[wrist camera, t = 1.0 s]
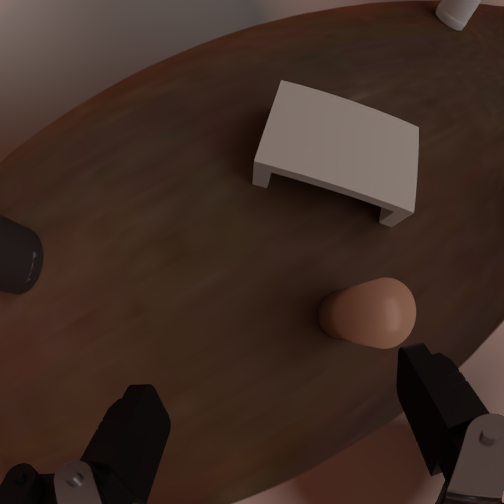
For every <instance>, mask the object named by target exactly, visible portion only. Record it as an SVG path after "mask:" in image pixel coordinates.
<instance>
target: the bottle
mask: <svg viewBox="0 0 504 504" xmlns="http://www.w3.org/2000/svg"><path fill="white" fill-rule="evenodd" d="M480 1H481V0H442V1H441V3H440V4H439V5H438V7H437V10H436V15H437V17H438V18H439V19H440V20H441V21H442V22H443V23H444V24H446V25H447V26H449V27H450V28H452V29H454V30H458V31H461V30H462V29H463V27H464V26H465V25H466V24H467V21H468V20H469V18H470V17H471V15H472V14H473V12H474V11H475V9H476V8H477V6H478V5H479V3H480Z"/></svg>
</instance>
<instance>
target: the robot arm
mask: <svg viewBox="0 0 504 504" xmlns="http://www.w3.org/2000/svg"><path fill="white" fill-rule="evenodd" d="M42 259H43V253H42V246H41V242H40V240H39V238H38V236H37V235H36V233H35V232H33V231H32V230H31V229H29V228H26V227H24V226H22V225H20V224H18V223H16V222H14V221H12V220H10V219H8V218H6V217H4V216H2V215H0V291H2V292H8V293H14V294H21V293H24V292H26V291H28V290H29V289H30V288H31V287H32V286H33V285H34V284H35V282H36V280H37V278H38V276H39V274H40V271H41V267H42ZM396 385H397V394H398V398H399V401H400V403H401V406H402V408H403V410H404V412H405V415H406V417H407V419H408V422H409V424H410V426H411V429H412V431H413V433H414V435H415V437H416V440H417V443H418V445H419V448H420V450H421V453H422V455H423V458H424V460H425V462H426V465H427V468H428V470H429V473H430V475H431V476H434V475H436V474H439V473H441V472H442V473H443V475H444V478H445V482H444V484H443V487H442V490H441V492H440V494H439V496H438V499H437V501H436V503H435V504H504V503H502V495H503V491H504V416H502V415H499V414H490V413H489V412H488V410H487V409H486V407H485V406H484V404H483V403H482V402H481V400H480V399H479V397H478V396H477V394H476V393H475V392H474V390H473V389H472V387H471V386H470V385H469V383H468V382H467V381H466V380H465V378H464V376H463V375H462V373H460V372H459V369H458V368H457V367H456V365H455V364H454V363H453V361H452V360H451V359H449V358H448V357H446V356H444V355H442V354H441V353H436V354H433V355H432V354H431V353H430V351H429V350H428V348H427V347H426V346H425V344H424V343H423V342H419V343H415V344H412V345H408V346H405V347H401V348H400V349H399V351H398V368H397V384H396ZM170 427H171V424H170V418H169V415H168V413H167V411H166V409H165V408H164V406H163V404H162V402H161V400H160V398H159V396H158V394H157V392H156V390H155V388H154V387H153V386H152V385H151V384H144V385H130V386H129V387H128V388H127V390H126V392H125V393H124V395H123V397H122V399H118V400H117V401H116V402H115V403H114V404H113V405H112V406H111V407H110V408H109V409H108V410H107V412H106V414H105V416H104V418H103V421H101V423H100V425H99V426H98V430H96V432H95V434H94V435H93V437H92V439H91V441H90V443H89V445H88V446H87V448H86V450H85V452H84V454H83V456H82V457H81V459H80V461H70V462H68V463H66V464H64V465H62V466H61V467H60V468H59V469H58V470H57V472H56V474H39V473H38V472H37V471H36V470H35V469H34V468H33V467H32V466H31V465H29V464H26V463H22V464H18V465H16V466H14V467H13V468H11V469H10V470H9V472H8V473H7V475H6V476H5V478H4V480H3V482H2V483H1V485H0V504H133V503H137V504H146V503H147V500H148V497H149V494H150V491H151V488H152V485H153V482H154V478H155V475H156V472H157V469H158V466H159V463H160V460H161V457H162V454H163V451H164V448H165V445H166V442H167V439H168V436H169V433H170Z"/></svg>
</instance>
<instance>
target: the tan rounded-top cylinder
mask: <svg viewBox="0 0 504 504" xmlns="http://www.w3.org/2000/svg"><path fill="white" fill-rule="evenodd" d="M318 319H319V323H320V326H321V328H322V329H323V331H324V332H325V333H326V334H327V335H329V336H330V337H332V338H335V339H339V340H344V341H348V342H352V343H357V344H361V345H366V346H371V347H375V348H381V349H387V348H392V347H395V346H397V345H399V344H400V343H402V342H403V341H404V340H405V339H406V338H407V337H408V335H409V334H410V332H411V331H412V329H413V326H414V323H415V319H416V305H415V301H414V298H413V296H412V294H411V292H410V290H409V289H408V288H407V287H406V286H405V285H404V284H403V283H402V282H400V281H398V280H396V279H392V278H380V279H376V280H373V281H369V282H366V283H363V284H359V285H356V286H352V287H349V288H346V289H342V290H339V291H335V292H333V293H331V294H329V295H328V296H327V297H326V298H325V299H324V300H323V301H322V303H321V305H320V308H319V312H318Z"/></svg>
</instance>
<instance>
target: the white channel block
mask: <svg viewBox="0 0 504 504" xmlns="http://www.w3.org/2000/svg"><path fill="white" fill-rule="evenodd" d="M418 144H419V127H417V126H415V125H412V124H410V123H408V122H405V121H403V120H401V119H398V118H396V117H393V116H391V115H388V114H386V113H383V112H381V111H378V110H375V109H373V108H370V107H367V106H365V105H362V104H359V103H356V102H353V101H350V100H348V99H345V98H342V97H338V96H335V95H332V94H329V93H326V92H323V91H319V90H316V89H312V88H309V87H305V86H302V85H298V84H294V83H290V82H287V81H283V80H281V83H280V86H279V89H278V91H277V94H276V97H275V100H274V103H273V106H272V109H271V112H270V115H269V118H268V121H267V124H266V127H265V129H264V132H263V135H262V138H261V141H260V144H259V147H258V150H257V153H256V156H255V159H254V168H253V182H252V184H253V185H257V186H260V187H264V188H267V186H268V183H269V180H270V176H271V173H275V174H279V175H282V176H286V177H289V178H293V179H296V180H299V181H303V182H306V183H309V184H313V185H316V186H319V187H323V188H326V189H329V190H332V191H335V192H338V193H341V194H344V195H348V196H351V197H354V198H357V199H360V200H362V201H365V202H368V203H371V204H374V205H377V206H380V207H381V213H380V219H379V223H380V224H383V225H386V226H389V227H393V226H394V225H396V224H397V223H399V222H400V221H402V220H403V219H405V218H407V217H408V216H410V215H411V214H413V213H414V207H415V197H416V184H417V169H418Z"/></svg>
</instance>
